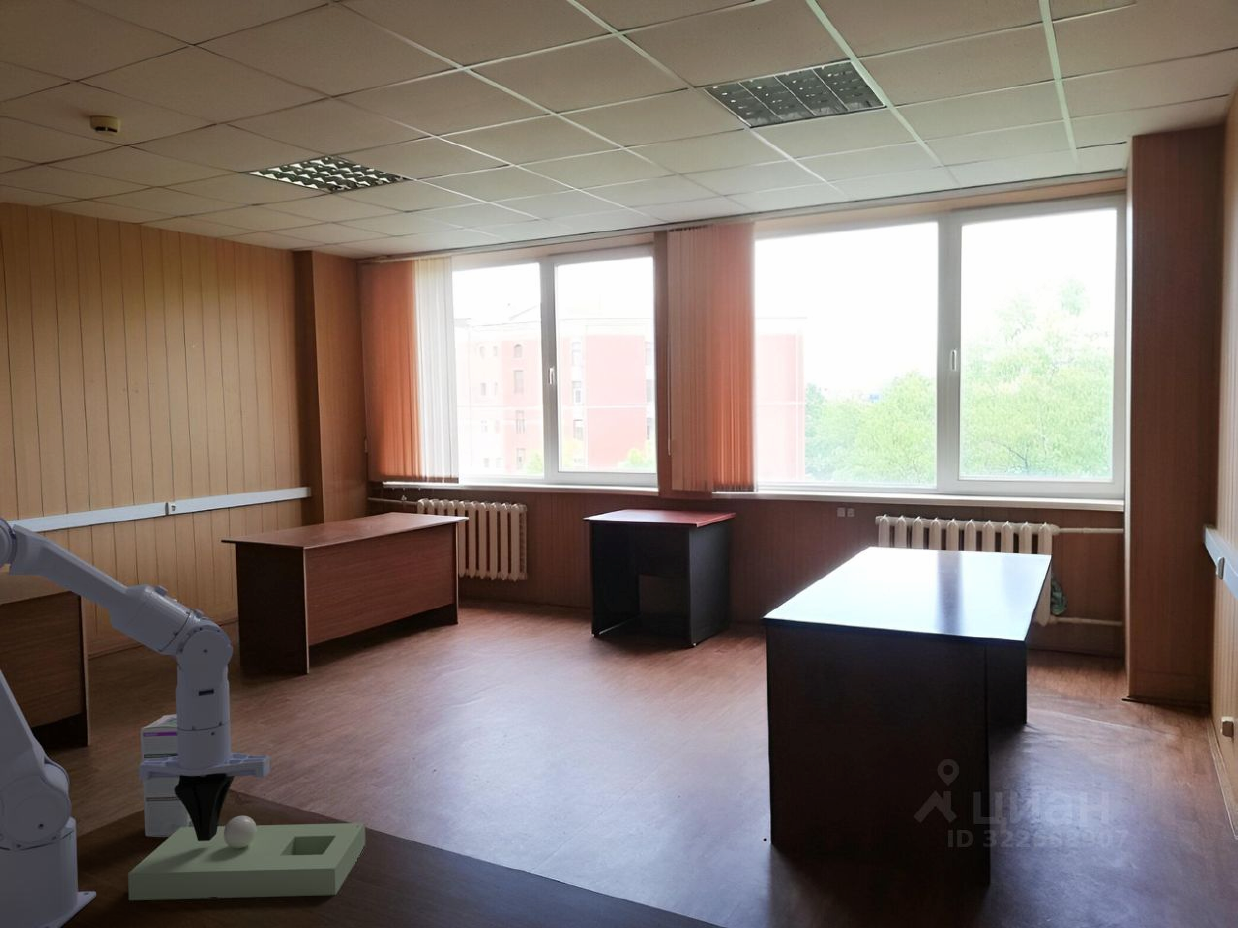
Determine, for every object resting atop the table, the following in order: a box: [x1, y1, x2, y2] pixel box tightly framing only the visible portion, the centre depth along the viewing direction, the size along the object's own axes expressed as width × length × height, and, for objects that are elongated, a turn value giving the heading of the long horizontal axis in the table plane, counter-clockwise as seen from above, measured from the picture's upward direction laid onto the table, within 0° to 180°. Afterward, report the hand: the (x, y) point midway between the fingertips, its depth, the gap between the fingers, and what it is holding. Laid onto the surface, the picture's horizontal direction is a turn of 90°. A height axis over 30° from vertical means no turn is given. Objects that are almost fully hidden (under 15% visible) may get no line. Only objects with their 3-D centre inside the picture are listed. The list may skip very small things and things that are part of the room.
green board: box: [127, 822, 366, 901], centre depth 104 cm, size 23×12×3 cm, turn 91°
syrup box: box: [139, 713, 194, 838], centre depth 117 cm, size 6×6×14 cm
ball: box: [224, 815, 257, 849], centre depth 104 cm, size 4×4×4 cm
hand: (207, 837), depth 104 cm, fingers closed
